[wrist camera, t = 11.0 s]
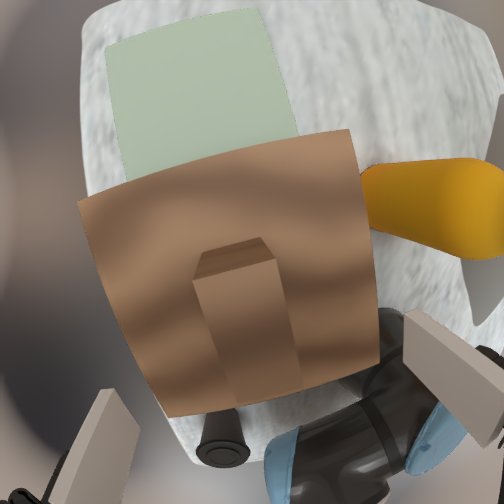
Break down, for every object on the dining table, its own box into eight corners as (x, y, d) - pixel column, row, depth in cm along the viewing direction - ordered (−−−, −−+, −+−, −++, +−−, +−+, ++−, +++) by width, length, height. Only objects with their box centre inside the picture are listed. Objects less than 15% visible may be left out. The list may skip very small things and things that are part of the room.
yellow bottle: (398, 159, 35) (582, 154, 7) (409, 220, 37) (581, 272, 9) (344, 171, 35) (552, 163, 7) (358, 237, 37) (544, 324, 9)
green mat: (299, 144, 34) (301, 143, 33) (131, 189, 33) (129, 189, 32) (256, 10, 28) (257, 7, 28) (106, 50, 28) (104, 47, 27)
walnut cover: (372, 354, 24) (411, 401, 17) (170, 407, 23) (159, 466, 16) (340, 132, 19) (393, 110, 12) (86, 200, 18) (28, 209, 11)
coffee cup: (204, 431, 42) (202, 473, 33) (193, 401, 41) (188, 446, 31) (249, 426, 43) (254, 469, 33) (242, 396, 41) (247, 441, 31)
